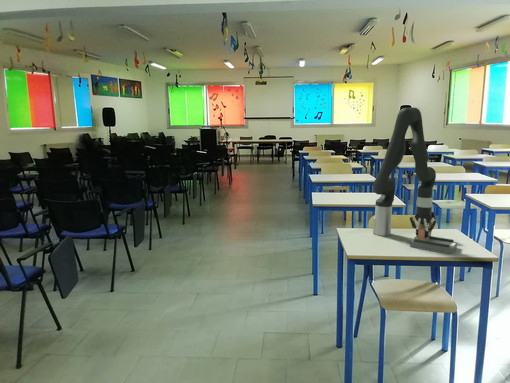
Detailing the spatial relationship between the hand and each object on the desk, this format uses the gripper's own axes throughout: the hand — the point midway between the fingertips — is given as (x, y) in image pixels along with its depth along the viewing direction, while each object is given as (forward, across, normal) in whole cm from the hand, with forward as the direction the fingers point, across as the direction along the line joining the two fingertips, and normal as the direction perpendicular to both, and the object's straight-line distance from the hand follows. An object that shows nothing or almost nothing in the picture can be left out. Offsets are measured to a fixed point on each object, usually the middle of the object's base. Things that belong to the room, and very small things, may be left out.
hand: (422, 236), depth 205 cm
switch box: (+5, +6, 0) cm, 8 cm away
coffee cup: (+5, -2, +16) cm, 17 cm away
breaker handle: (+1, 0, 0) cm, 1 cm away
